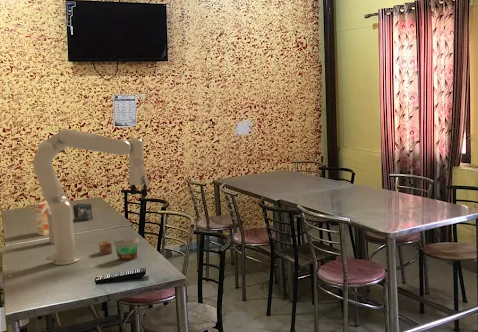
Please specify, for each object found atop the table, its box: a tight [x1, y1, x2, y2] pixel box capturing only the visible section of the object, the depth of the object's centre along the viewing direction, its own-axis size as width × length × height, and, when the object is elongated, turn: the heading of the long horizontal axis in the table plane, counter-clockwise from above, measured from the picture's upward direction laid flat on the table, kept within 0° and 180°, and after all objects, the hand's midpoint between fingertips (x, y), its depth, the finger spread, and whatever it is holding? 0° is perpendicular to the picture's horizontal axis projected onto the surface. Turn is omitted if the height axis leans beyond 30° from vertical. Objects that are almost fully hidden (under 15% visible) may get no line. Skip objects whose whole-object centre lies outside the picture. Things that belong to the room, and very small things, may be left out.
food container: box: [113, 237, 139, 262], centre depth 264 cm, size 12×6×10 cm, turn 105°
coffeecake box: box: [34, 200, 49, 237], centre depth 328 cm, size 15×7×20 cm, turn 143°
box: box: [72, 203, 94, 222], centre depth 360 cm, size 11×7×10 cm, turn 73°
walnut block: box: [98, 240, 113, 256], centre depth 278 cm, size 6×6×6 cm
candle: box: [47, 208, 55, 245], centre depth 303 cm, size 7×14×20 cm, turn 59°
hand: (139, 195), depth 279 cm, fingers open, 9 cm apart
